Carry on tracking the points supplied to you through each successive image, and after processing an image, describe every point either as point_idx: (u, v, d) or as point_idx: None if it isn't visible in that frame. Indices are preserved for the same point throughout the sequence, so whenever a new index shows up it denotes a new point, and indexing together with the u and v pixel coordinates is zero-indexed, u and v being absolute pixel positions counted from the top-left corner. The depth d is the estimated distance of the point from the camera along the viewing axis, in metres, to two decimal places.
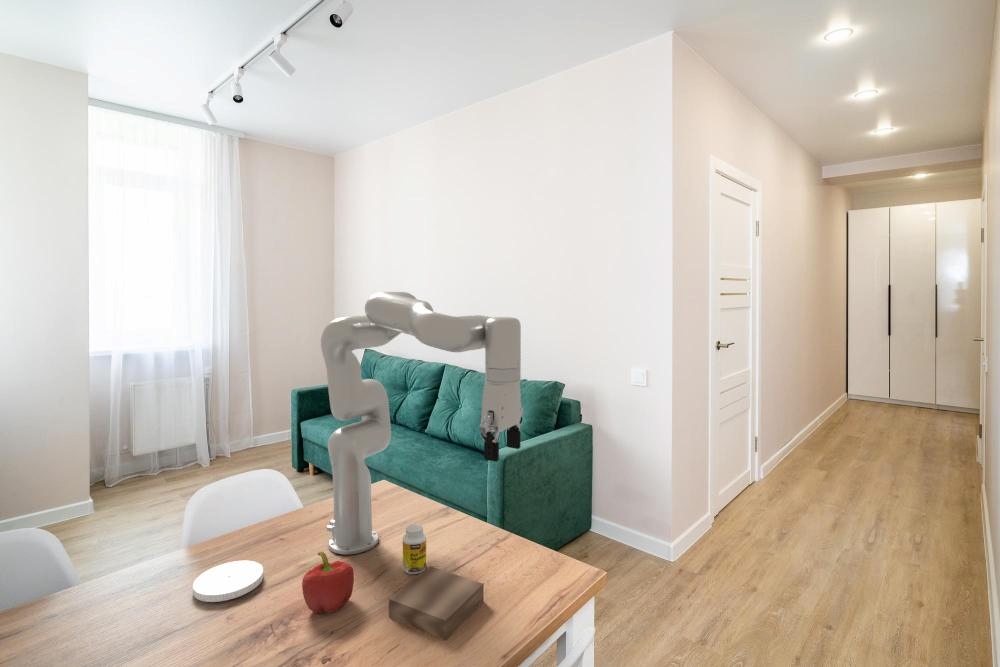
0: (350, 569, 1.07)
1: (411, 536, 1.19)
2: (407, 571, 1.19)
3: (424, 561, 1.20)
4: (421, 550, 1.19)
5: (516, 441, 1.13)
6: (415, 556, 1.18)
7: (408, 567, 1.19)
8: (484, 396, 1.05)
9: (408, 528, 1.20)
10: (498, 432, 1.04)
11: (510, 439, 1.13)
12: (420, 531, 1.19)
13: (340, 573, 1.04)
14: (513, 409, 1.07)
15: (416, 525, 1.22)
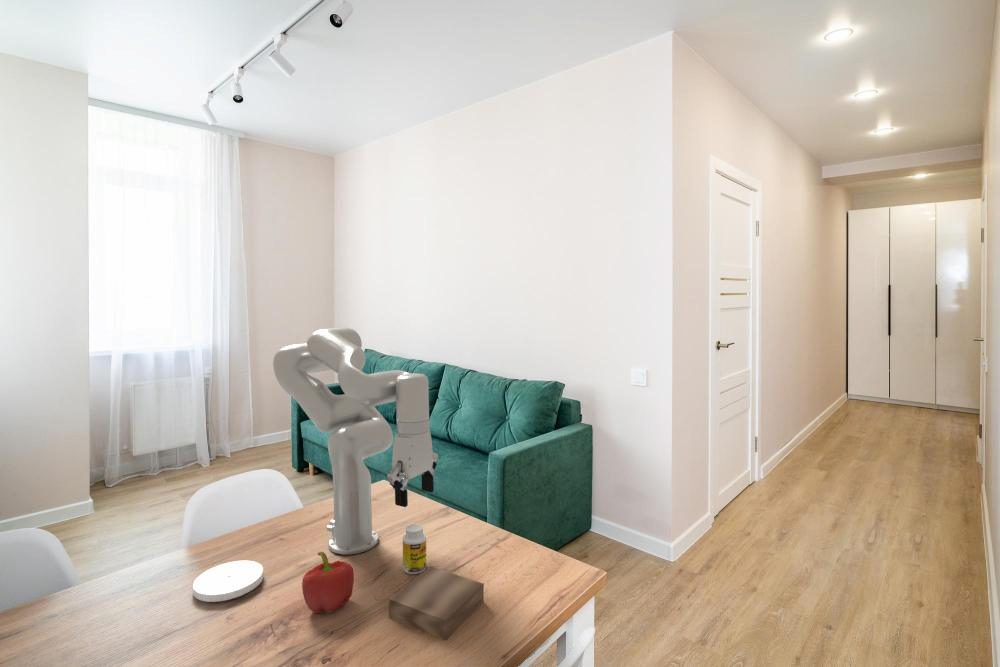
0: (350, 569, 1.07)
1: (411, 536, 1.19)
2: (407, 571, 1.19)
3: (424, 561, 1.20)
4: (421, 550, 1.19)
5: (429, 485, 1.23)
6: (415, 556, 1.18)
7: (408, 567, 1.19)
8: (394, 447, 1.15)
9: (408, 528, 1.20)
10: (406, 480, 1.15)
11: (424, 483, 1.24)
12: (420, 531, 1.19)
13: (340, 573, 1.04)
14: (422, 458, 1.18)
15: (416, 525, 1.22)
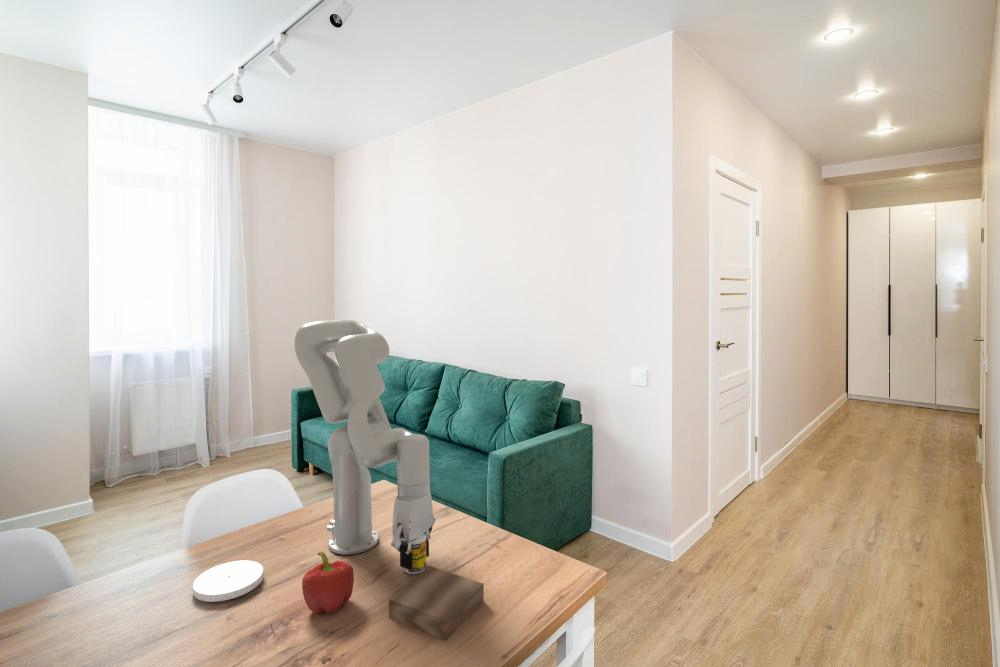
0: (350, 569, 1.07)
1: None
2: (407, 571, 1.19)
3: (424, 561, 1.20)
4: (421, 550, 1.19)
5: None
6: (415, 556, 1.18)
7: None
8: (394, 509, 1.17)
9: None
10: (410, 543, 1.17)
11: None
12: None
13: (340, 573, 1.04)
14: (422, 519, 1.19)
15: None
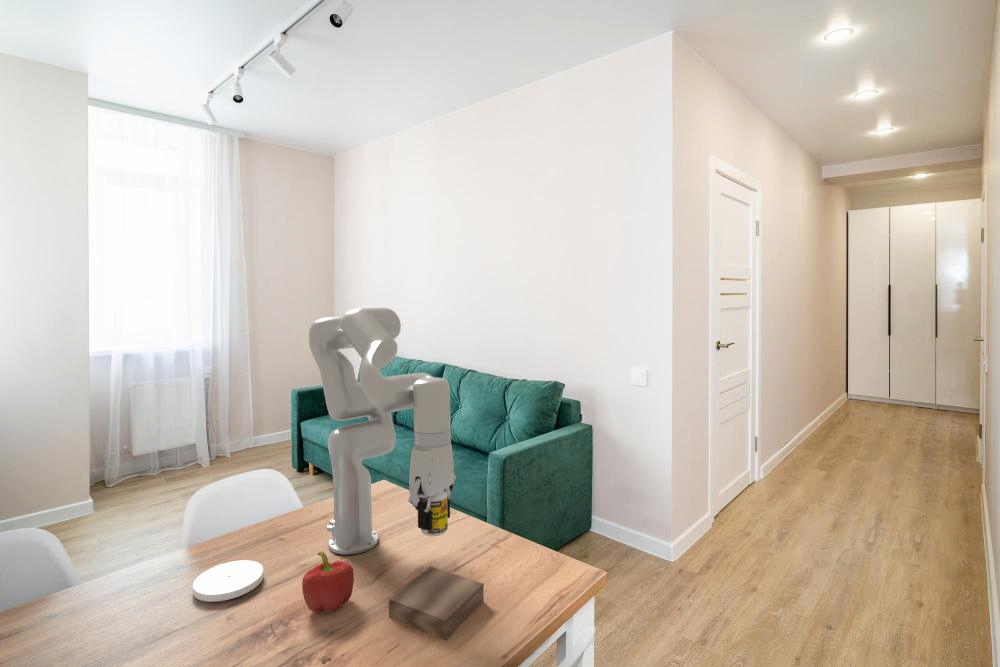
0: (350, 569, 1.07)
1: None
2: (426, 533, 1.04)
3: (445, 521, 1.05)
4: (442, 508, 1.04)
5: None
6: (435, 515, 1.03)
7: None
8: (411, 461, 1.02)
9: None
10: (429, 500, 1.02)
11: None
12: None
13: (340, 573, 1.04)
14: (443, 473, 1.04)
15: None
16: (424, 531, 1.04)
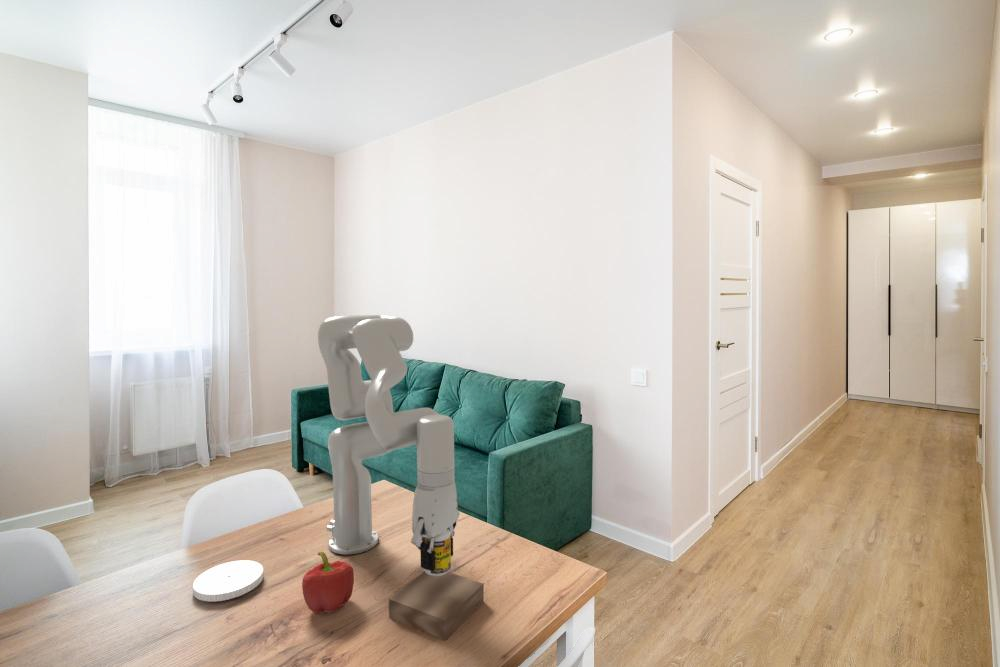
0: (350, 569, 1.07)
1: None
2: (429, 572, 1.02)
3: (448, 561, 1.04)
4: (445, 548, 1.03)
5: None
6: (438, 555, 1.02)
7: None
8: (414, 501, 1.01)
9: None
10: (432, 540, 1.01)
11: None
12: None
13: (340, 573, 1.04)
14: (446, 512, 1.03)
15: None
16: (427, 571, 1.03)
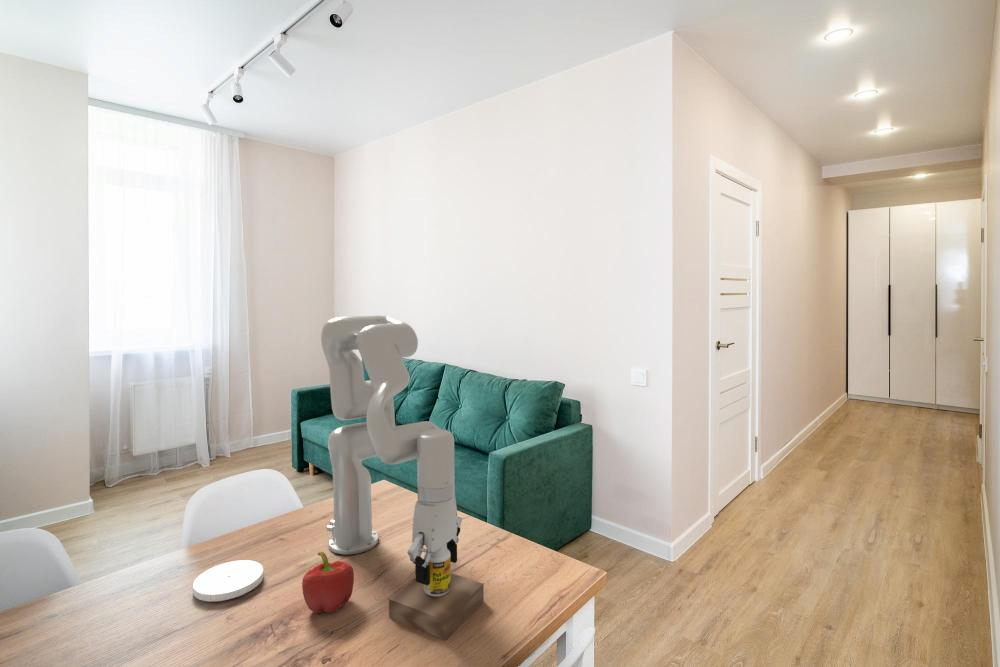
0: (350, 569, 1.07)
1: (434, 553, 1.03)
2: (429, 593, 1.03)
3: (448, 581, 1.04)
4: (445, 569, 1.03)
5: (452, 555, 1.08)
6: (438, 576, 1.03)
7: (430, 589, 1.03)
8: (415, 516, 1.01)
9: None
10: (429, 554, 1.00)
11: None
12: (444, 547, 1.04)
13: (340, 573, 1.04)
14: (446, 527, 1.03)
15: None
16: (427, 591, 1.03)
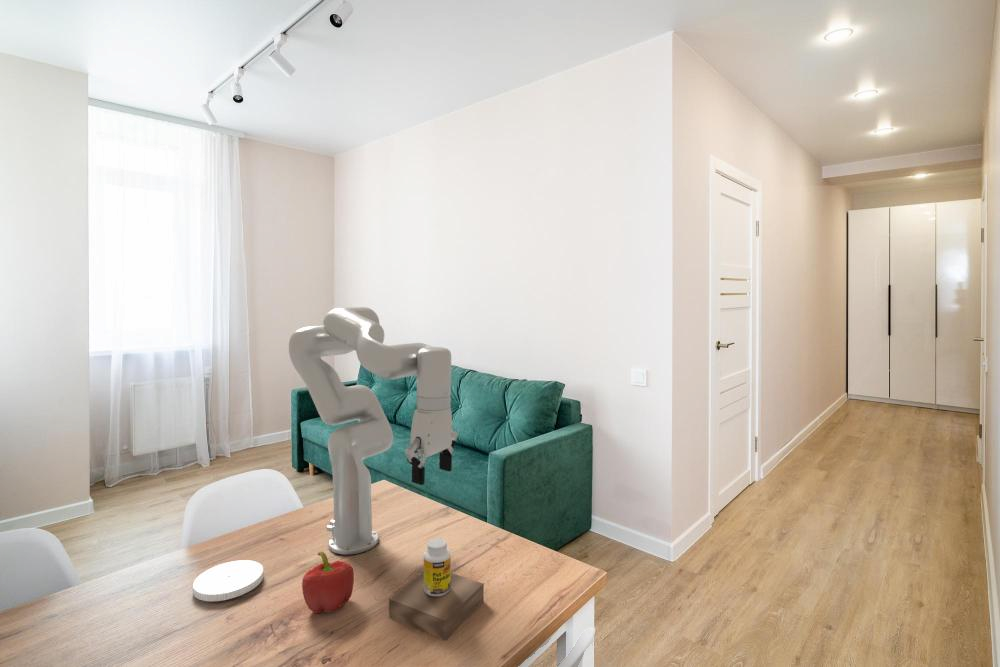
0: (350, 569, 1.07)
1: (434, 553, 1.03)
2: (429, 593, 1.03)
3: (448, 581, 1.04)
4: (445, 569, 1.03)
5: (447, 464, 1.18)
6: (438, 576, 1.03)
7: (430, 589, 1.03)
8: (413, 422, 1.11)
9: (430, 543, 1.04)
10: (424, 457, 1.10)
11: (442, 462, 1.19)
12: (444, 546, 1.04)
13: (340, 573, 1.04)
14: (442, 435, 1.13)
15: (439, 540, 1.06)
16: (427, 591, 1.04)
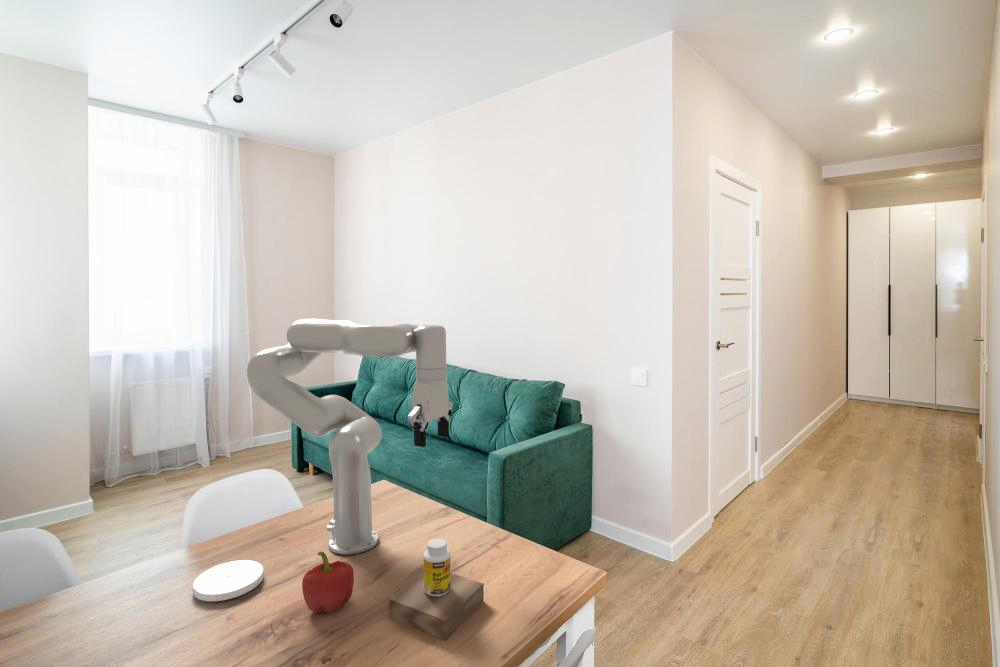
0: (350, 569, 1.07)
1: (433, 553, 1.03)
2: (429, 593, 1.03)
3: (448, 581, 1.04)
4: (445, 569, 1.03)
5: (445, 430, 1.32)
6: (438, 576, 1.03)
7: (430, 589, 1.03)
8: (414, 392, 1.24)
9: (430, 543, 1.04)
10: (425, 422, 1.24)
11: (440, 429, 1.33)
12: (444, 547, 1.04)
13: (340, 573, 1.04)
14: (440, 403, 1.27)
15: (439, 540, 1.06)
16: (427, 591, 1.04)
